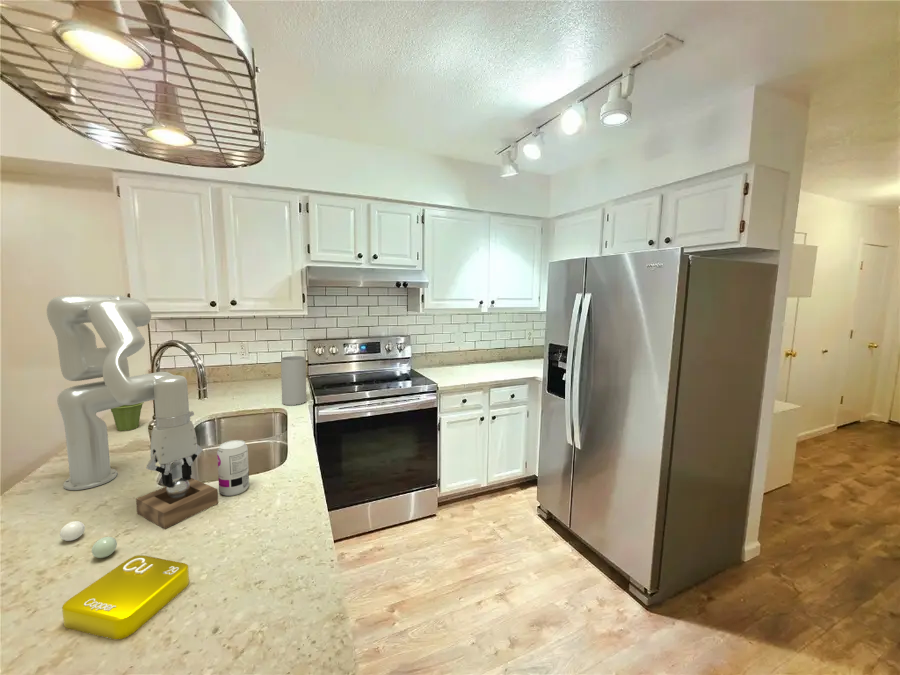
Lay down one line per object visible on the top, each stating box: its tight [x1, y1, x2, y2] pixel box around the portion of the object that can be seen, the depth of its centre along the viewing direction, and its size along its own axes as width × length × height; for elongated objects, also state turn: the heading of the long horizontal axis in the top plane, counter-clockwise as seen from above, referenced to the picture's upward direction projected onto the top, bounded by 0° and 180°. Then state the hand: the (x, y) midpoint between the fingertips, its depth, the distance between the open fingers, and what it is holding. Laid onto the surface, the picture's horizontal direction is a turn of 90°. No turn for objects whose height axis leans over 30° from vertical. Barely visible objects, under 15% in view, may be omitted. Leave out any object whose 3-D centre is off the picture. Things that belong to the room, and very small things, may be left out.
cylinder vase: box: [280, 355, 307, 406], centre depth 208 cm, size 12×12×25 cm
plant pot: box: [110, 402, 145, 432], centre depth 166 cm, size 12×12×11 cm
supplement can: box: [216, 439, 250, 497], centre depth 118 cm, size 8×8×15 cm
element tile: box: [61, 554, 190, 640], centre depth 77 cm, size 15×15×5 cm
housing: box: [135, 477, 219, 530], centre depth 108 cm, size 14×14×4 cm
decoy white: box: [59, 520, 86, 542], centre depth 94 cm, size 4×4×4 cm
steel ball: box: [166, 477, 190, 498], centre depth 108 cm, size 5×5×5 cm
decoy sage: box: [91, 536, 118, 559], centre depth 89 cm, size 4×4×4 cm
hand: (177, 481), depth 108 cm, fingers closed on steel ball, 4 cm apart
